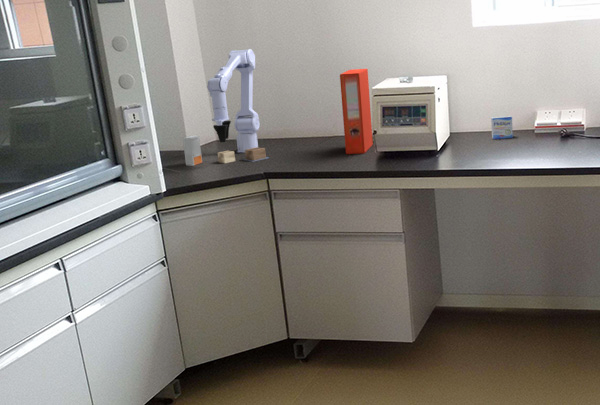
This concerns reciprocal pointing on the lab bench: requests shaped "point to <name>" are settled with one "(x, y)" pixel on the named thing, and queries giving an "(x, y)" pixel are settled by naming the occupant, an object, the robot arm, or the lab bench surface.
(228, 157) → the maple block
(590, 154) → the lab bench surface
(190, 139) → the skincare box
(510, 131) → the medicine box
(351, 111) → the file binder
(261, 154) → the base block
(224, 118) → the robot arm
